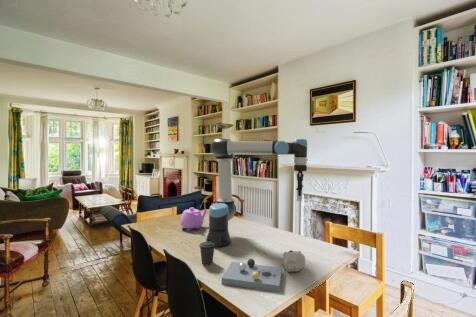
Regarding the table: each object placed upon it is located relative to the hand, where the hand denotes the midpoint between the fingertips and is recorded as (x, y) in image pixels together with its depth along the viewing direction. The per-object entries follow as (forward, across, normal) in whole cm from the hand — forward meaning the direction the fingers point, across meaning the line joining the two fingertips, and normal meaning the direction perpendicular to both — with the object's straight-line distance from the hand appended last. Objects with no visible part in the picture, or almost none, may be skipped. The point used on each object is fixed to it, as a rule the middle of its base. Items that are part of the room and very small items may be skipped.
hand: (299, 199), depth 149 cm
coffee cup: (+28, -40, +44) cm, 66 cm away
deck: (+28, -48, +18) cm, 59 cm away
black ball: (+23, -43, +21) cm, 53 cm away
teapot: (+28, +10, +74) cm, 80 cm away
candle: (+28, -34, +2) cm, 44 cm away
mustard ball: (+24, -54, +16) cm, 61 cm away
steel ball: (+23, -49, +23) cm, 59 cm away
